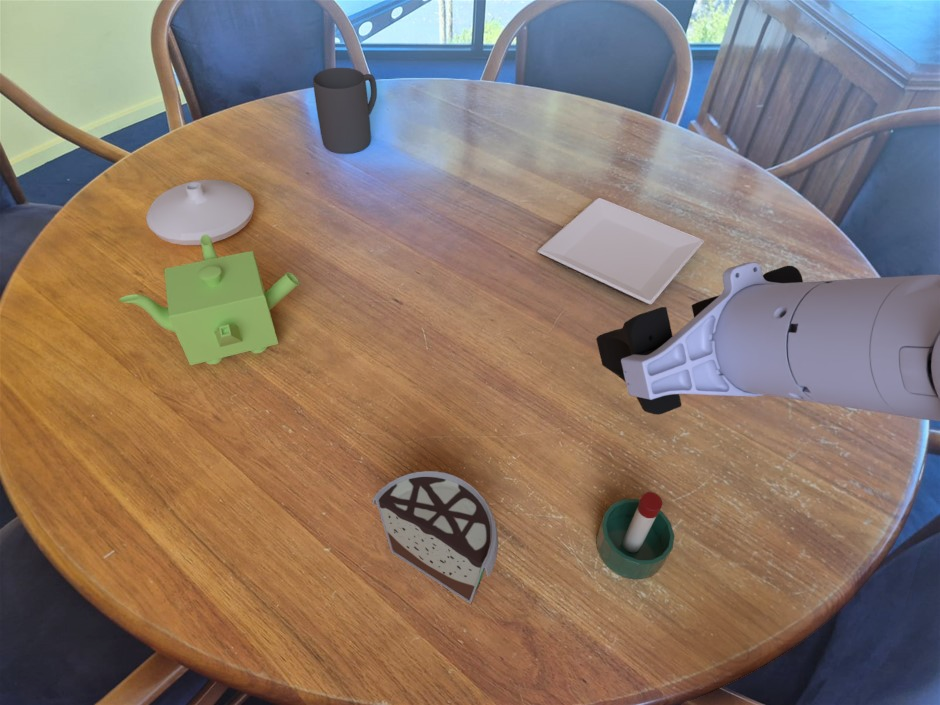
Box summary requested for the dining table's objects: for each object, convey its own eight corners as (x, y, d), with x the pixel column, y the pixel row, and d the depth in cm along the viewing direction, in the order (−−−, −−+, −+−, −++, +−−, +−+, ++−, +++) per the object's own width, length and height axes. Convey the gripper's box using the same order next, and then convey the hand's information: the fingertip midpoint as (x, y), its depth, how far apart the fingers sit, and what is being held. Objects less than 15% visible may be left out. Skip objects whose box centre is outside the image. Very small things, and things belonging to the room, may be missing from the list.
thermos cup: (678, 562, 61) (688, 546, 59) (621, 591, 59) (629, 575, 57) (638, 506, 65) (646, 489, 63) (583, 530, 63) (589, 514, 61)
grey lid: (136, 221, 98) (119, 181, 92) (230, 187, 105) (219, 148, 100) (178, 270, 90) (162, 230, 84) (276, 230, 97) (267, 190, 92)
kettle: (147, 358, 78) (112, 291, 70) (218, 290, 87) (194, 223, 79) (248, 394, 74) (224, 327, 66) (311, 319, 84) (296, 252, 75)
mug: (348, 160, 112) (340, 94, 103) (312, 144, 115) (300, 79, 106) (396, 131, 120) (392, 67, 111) (361, 117, 123) (354, 54, 114)
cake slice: (516, 559, 61) (526, 509, 54) (484, 613, 57) (489, 566, 50) (415, 498, 65) (411, 444, 58) (379, 544, 62) (369, 492, 54)
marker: (644, 548, 62) (666, 505, 55) (629, 556, 61) (649, 513, 55) (633, 532, 63) (654, 488, 57) (618, 539, 62) (636, 496, 56)
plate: (535, 261, 93) (536, 250, 92) (596, 206, 104) (598, 195, 102) (647, 314, 86) (651, 303, 84) (701, 250, 96) (705, 239, 95)
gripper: (928, 221, 30) (725, 248, 43) (689, 300, 26) (543, 304, 38) (948, 359, 31) (745, 346, 44) (722, 458, 27) (569, 411, 39)
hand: (652, 333), depth 41 cm, fingers open, 7 cm apart
